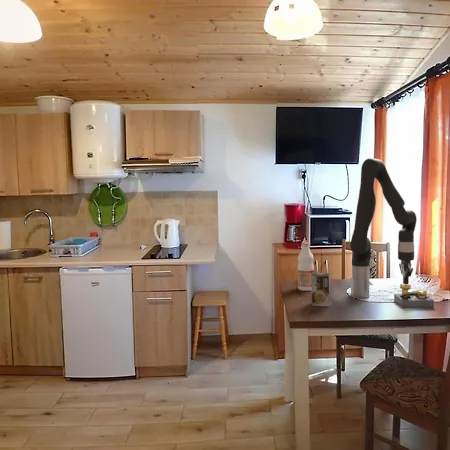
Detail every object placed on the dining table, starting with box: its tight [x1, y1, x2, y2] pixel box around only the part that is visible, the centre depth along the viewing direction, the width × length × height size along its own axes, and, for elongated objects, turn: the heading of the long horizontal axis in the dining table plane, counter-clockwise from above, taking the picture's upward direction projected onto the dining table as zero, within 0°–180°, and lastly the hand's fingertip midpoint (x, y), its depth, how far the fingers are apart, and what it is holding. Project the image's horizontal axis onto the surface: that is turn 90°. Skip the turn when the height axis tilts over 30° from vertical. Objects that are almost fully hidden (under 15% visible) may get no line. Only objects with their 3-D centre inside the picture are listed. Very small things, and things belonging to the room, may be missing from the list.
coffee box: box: [311, 272, 331, 307], centre depth 210 cm, size 9×6×16 cm
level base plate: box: [393, 290, 435, 309], centre depth 206 cm, size 15×12×6 cm
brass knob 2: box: [415, 289, 428, 298], centre depth 205 cm, size 5×5×7 cm
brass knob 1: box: [399, 283, 412, 298], centre depth 205 cm, size 5×5×7 cm
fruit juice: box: [297, 241, 315, 292], centre depth 240 cm, size 9×9×28 cm
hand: (405, 283), depth 205 cm, fingers closed
